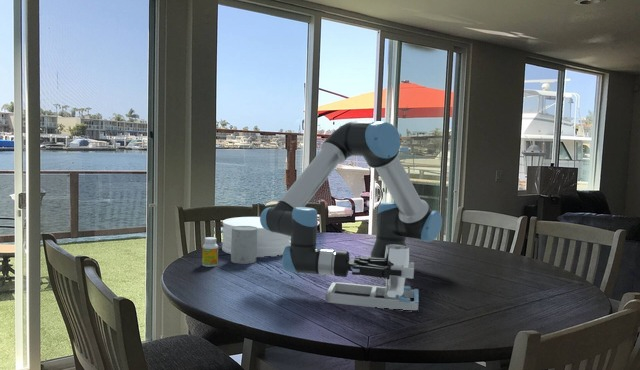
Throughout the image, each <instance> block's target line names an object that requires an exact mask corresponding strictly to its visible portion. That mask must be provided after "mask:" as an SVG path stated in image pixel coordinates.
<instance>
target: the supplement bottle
mask: <svg viewBox="0 0 640 370" xmlns="http://www.w3.org/2000/svg"><path fill="white" fill-rule="evenodd" d="M201 257H202V258H201V259H202V260H201V261H202V262H201V265H202V266H203V267H205V268H206V267H208V268H213V267H216V266H217V267H218V260H219V245H218V244H217V237H214V236H213V237H212V236H208V237H207V236H206V237H205V238H204V244H203V245H202V255H201Z"/></svg>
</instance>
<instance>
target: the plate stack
mask: <svg viewBox="0 0 640 370" xmlns="http://www.w3.org/2000/svg"><path fill="white" fill-rule="evenodd" d="M222 225H223V226H222V236H221V237H222V240H221V244H222V245H221V250H222V251H223V252H224V253H226V254H230V255H231V243H232V227H235V226H252V227H257V228H258V229H257V254H256V258H265V257H264V256H271V257H278V256H277V255H279V256H283V251H284V249H285V247H287V246H291V236H287V235H284V234H280V233H276V232H271V231H269V230H266V229H264V228H263V227H262V225H261V223H260V216H240V217H231V218H226V219H224V220H223V221H222Z"/></svg>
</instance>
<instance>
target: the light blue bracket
mask: <svg viewBox="0 0 640 370" xmlns="http://www.w3.org/2000/svg"><path fill="white" fill-rule="evenodd" d="M411 287H412V286H409V285H407V286H406V285H404V290H408V291H411V290H412V288H411ZM413 290H414V299H413V301H414V303H418V305H419V303H420V302H419V300H420V299H419V289H418V288H414V289H413ZM410 301H411V299H410V298H404V297H399V302H409V303H410Z"/></svg>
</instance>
